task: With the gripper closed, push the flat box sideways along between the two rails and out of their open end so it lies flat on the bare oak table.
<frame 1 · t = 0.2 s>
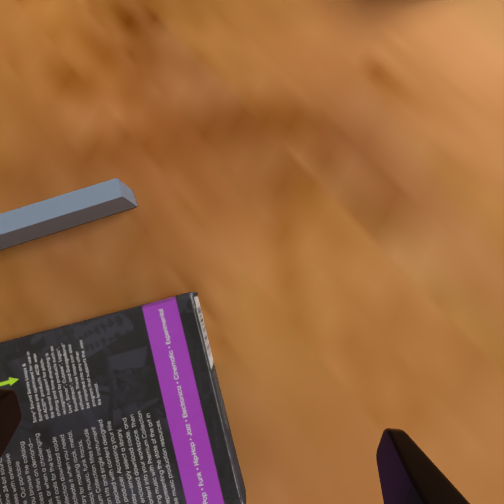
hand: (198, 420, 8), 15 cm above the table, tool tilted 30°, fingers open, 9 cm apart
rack: (64, 433, 22), on the table
box: (84, 423, 23), on the table
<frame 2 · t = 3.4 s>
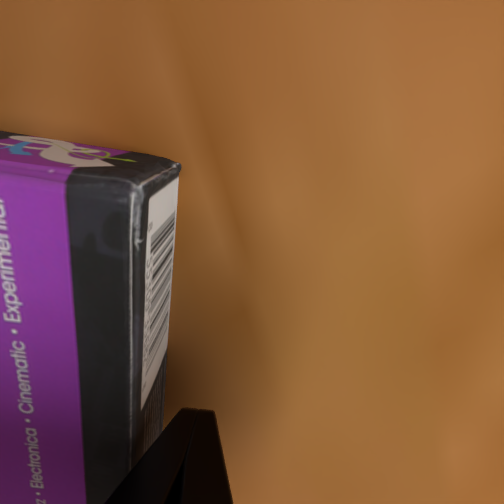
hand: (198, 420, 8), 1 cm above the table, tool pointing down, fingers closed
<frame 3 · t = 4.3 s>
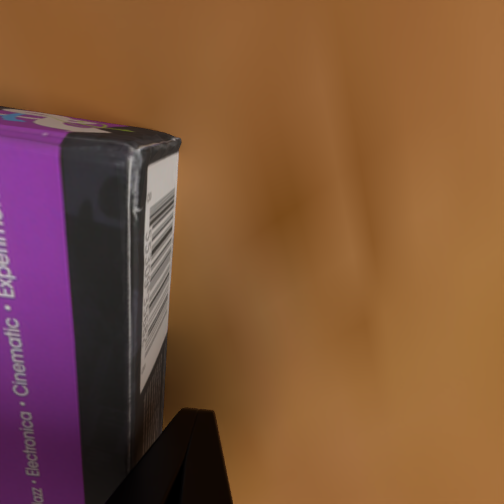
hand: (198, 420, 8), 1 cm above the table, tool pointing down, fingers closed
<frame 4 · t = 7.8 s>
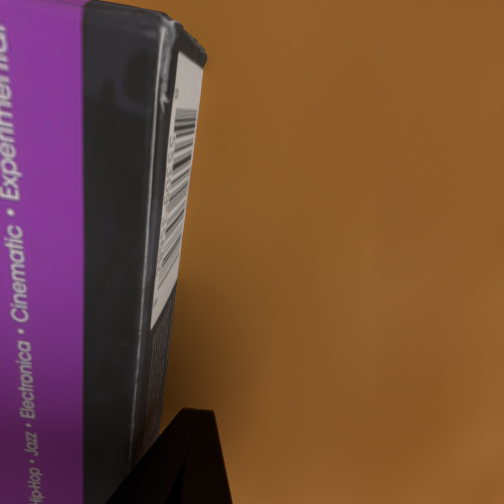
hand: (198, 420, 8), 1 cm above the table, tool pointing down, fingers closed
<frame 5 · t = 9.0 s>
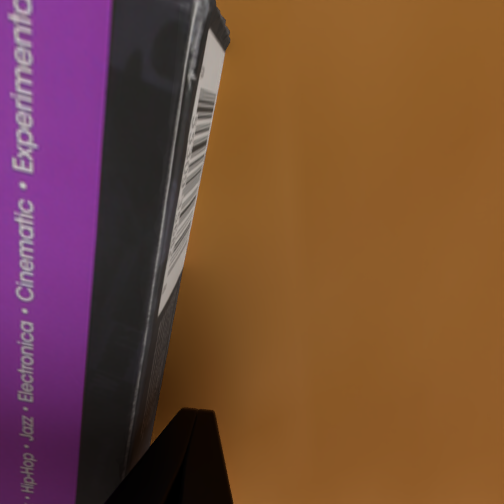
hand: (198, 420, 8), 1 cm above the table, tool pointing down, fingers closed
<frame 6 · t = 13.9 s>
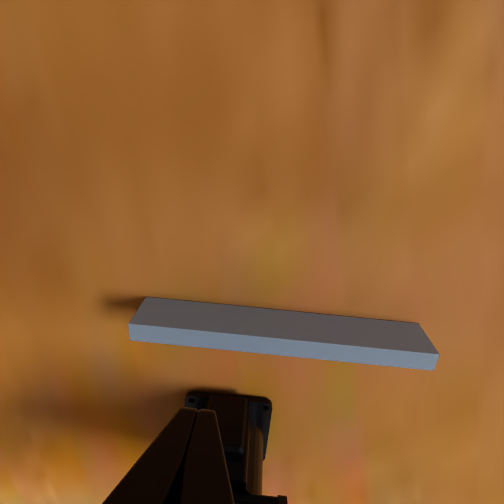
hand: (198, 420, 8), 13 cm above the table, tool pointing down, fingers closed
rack: (311, 92, 17), on the table
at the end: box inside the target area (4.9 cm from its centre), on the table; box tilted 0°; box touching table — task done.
